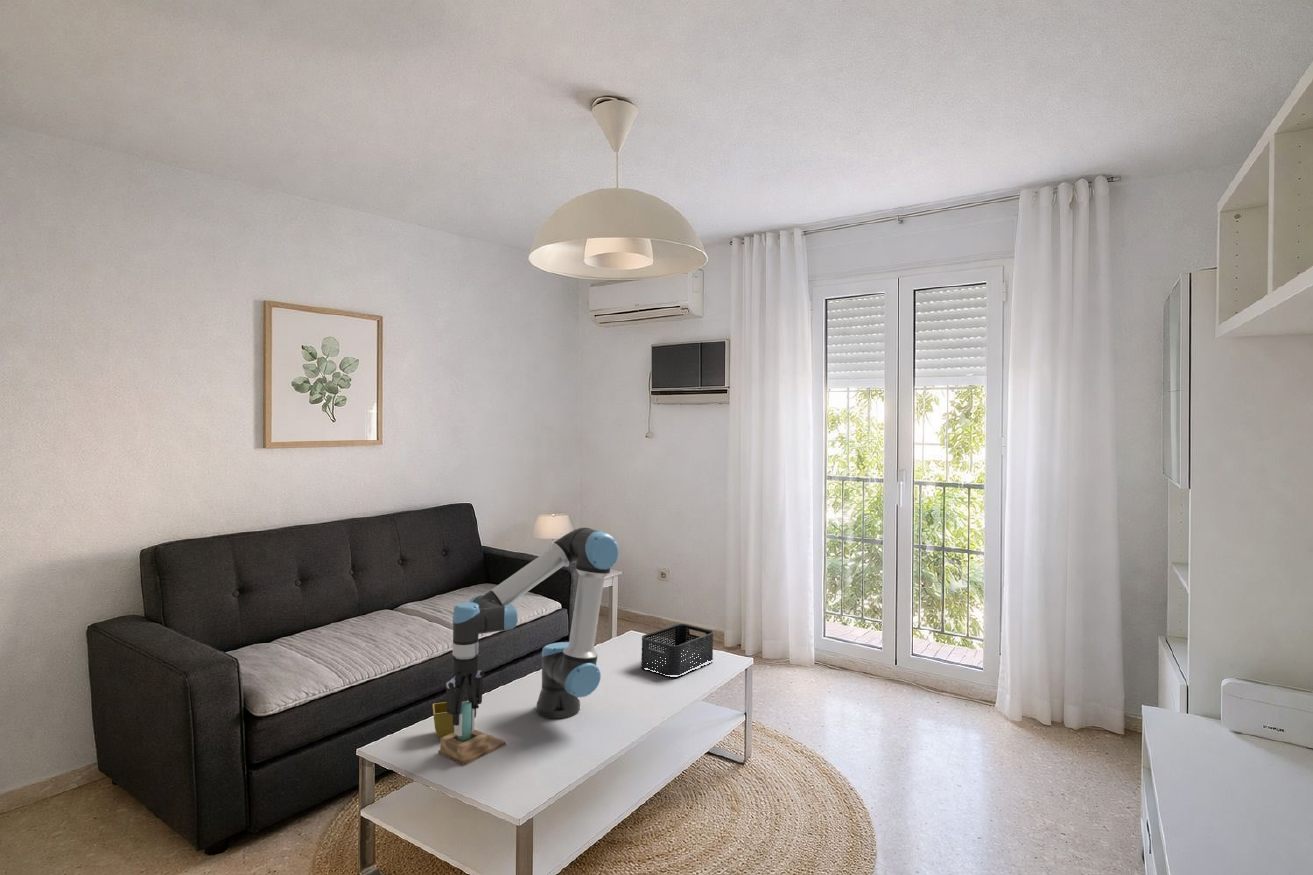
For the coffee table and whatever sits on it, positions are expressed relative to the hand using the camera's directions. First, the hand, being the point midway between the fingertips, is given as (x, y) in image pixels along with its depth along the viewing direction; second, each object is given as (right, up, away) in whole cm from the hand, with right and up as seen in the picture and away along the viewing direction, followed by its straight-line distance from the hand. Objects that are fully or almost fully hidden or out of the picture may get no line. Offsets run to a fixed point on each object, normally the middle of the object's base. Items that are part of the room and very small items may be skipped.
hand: (464, 731), depth 208 cm
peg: (0, -3, 0) cm, 3 cm away
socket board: (+2, -7, +3) cm, 7 cm away
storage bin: (+67, -6, +79) cm, 104 cm away
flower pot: (-9, -6, +13) cm, 17 cm away
